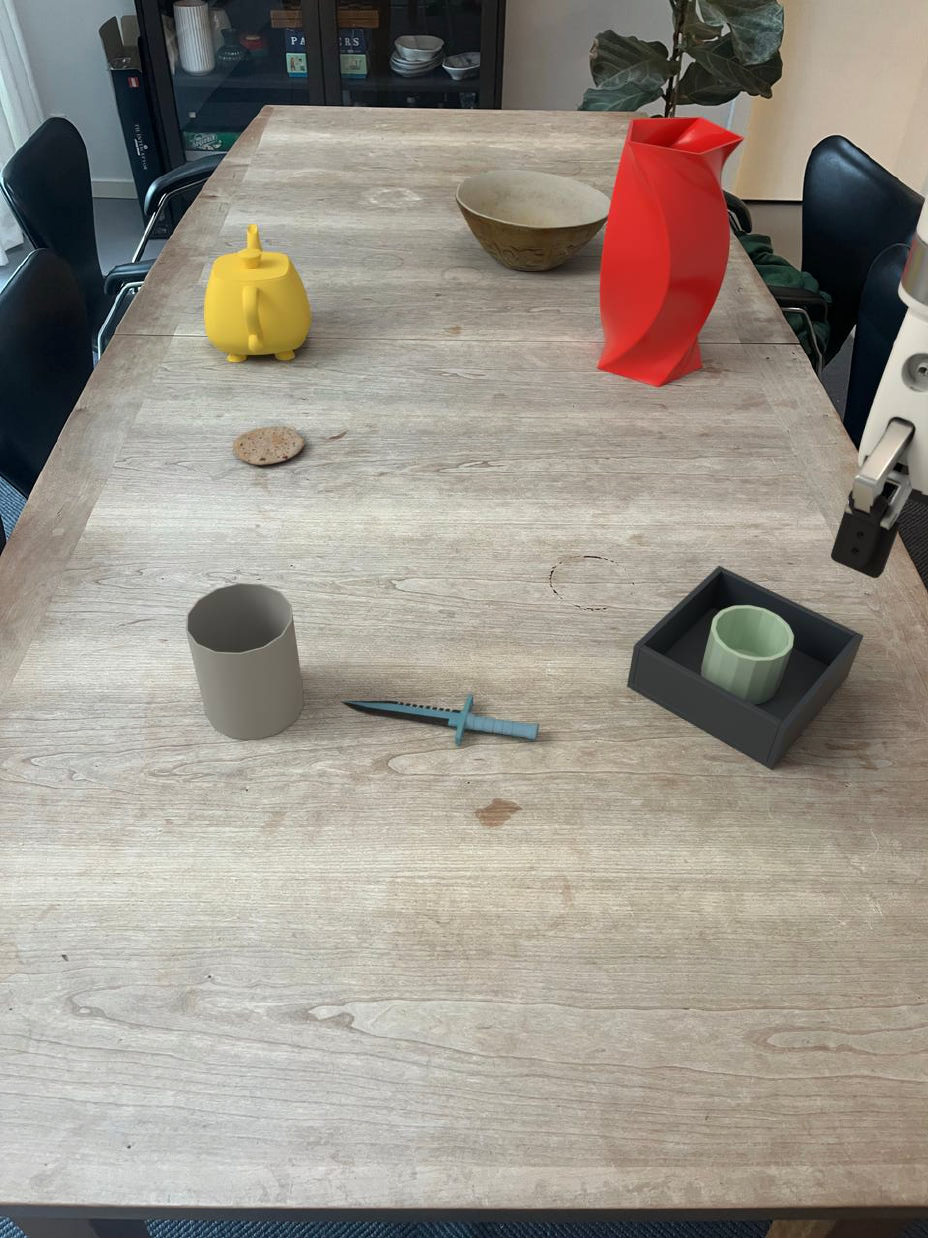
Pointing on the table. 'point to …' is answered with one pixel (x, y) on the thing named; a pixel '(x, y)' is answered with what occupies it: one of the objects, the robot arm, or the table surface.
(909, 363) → the robot arm
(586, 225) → the bowl
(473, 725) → the knife
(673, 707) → the dish tub
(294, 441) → the flatbread
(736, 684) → the green tumbler
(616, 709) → the table surface
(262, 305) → the teapot
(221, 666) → the cup
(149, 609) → the table surface
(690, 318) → the vase
